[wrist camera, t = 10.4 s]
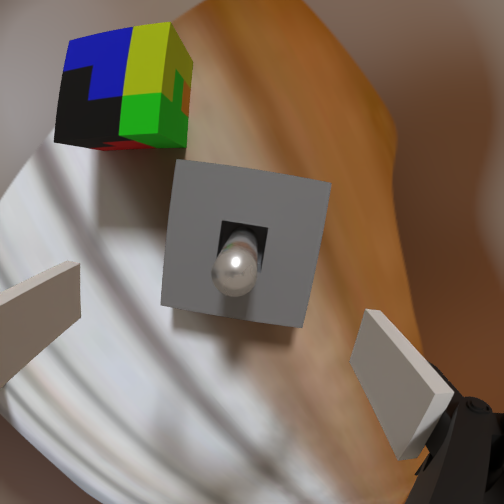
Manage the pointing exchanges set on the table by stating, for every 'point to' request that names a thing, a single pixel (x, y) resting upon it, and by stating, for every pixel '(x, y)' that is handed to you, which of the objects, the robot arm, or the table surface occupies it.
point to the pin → (236, 264)
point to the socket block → (256, 218)
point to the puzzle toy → (125, 90)
